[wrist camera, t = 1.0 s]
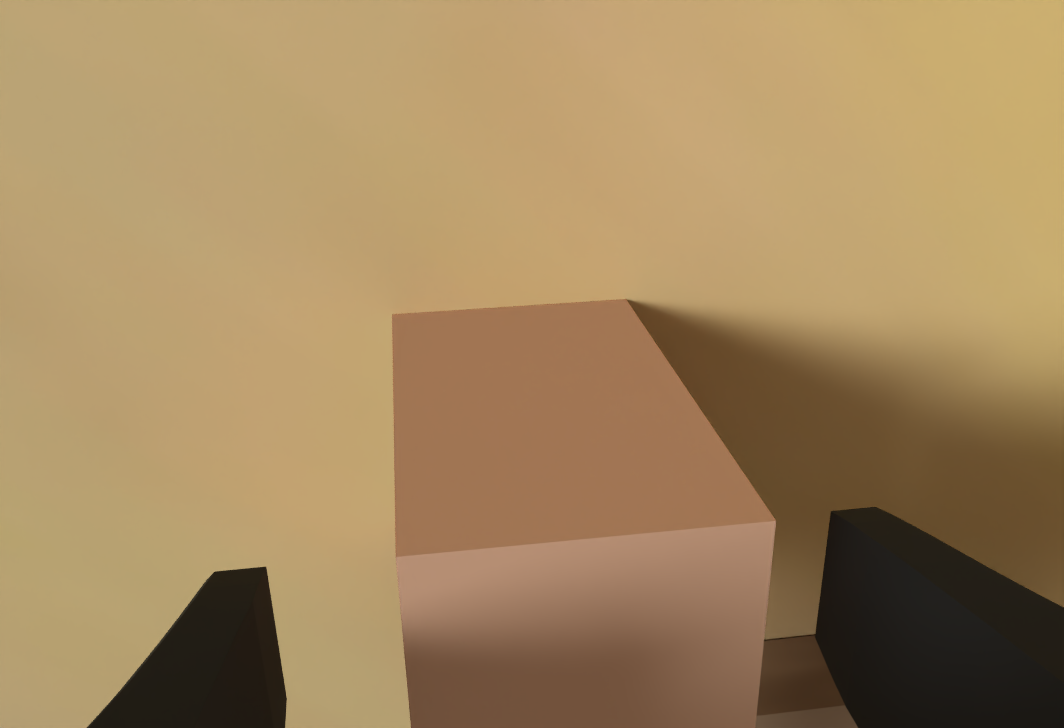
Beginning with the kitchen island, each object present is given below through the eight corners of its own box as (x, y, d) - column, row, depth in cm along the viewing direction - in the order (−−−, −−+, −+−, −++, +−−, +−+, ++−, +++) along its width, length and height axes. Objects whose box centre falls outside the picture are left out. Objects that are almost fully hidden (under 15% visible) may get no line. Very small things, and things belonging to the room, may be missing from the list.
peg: (625, 299, 16) (776, 520, 10) (621, 498, 18) (748, 798, 12) (392, 314, 16) (395, 557, 10) (408, 516, 18) (421, 839, 11)
